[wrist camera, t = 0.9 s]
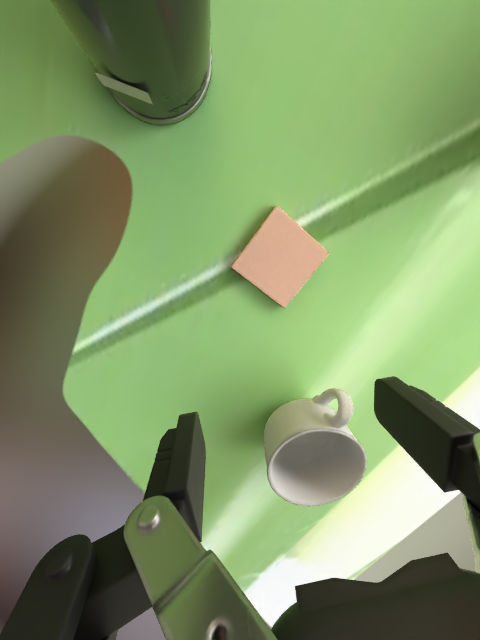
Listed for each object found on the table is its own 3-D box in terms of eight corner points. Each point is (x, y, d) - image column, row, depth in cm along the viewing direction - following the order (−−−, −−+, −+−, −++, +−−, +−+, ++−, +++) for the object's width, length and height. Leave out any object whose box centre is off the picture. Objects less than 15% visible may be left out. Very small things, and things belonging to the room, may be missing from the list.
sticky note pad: (230, 266, 27) (231, 267, 26) (275, 206, 25) (277, 205, 25) (282, 306, 29) (284, 308, 28) (326, 252, 27) (329, 253, 27)
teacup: (304, 461, 36) (328, 519, 29) (241, 436, 34) (249, 492, 26) (362, 387, 33) (406, 430, 26) (298, 353, 31) (326, 390, 23)
